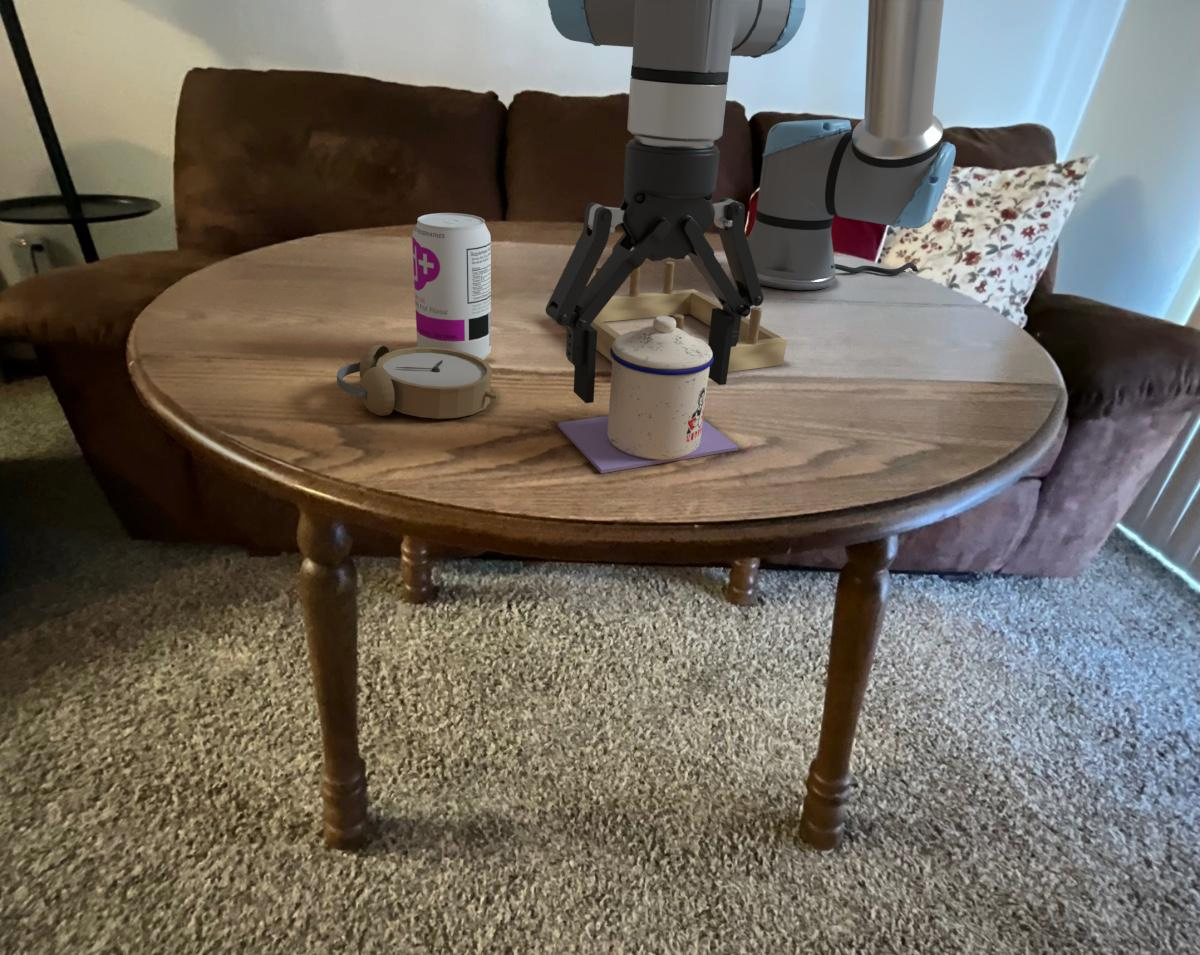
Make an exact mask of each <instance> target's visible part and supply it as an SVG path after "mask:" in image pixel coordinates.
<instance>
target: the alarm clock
mask: <svg viewBox="0 0 1200 955" xmlns="http://www.w3.org/2000/svg"><path fill="white" fill-rule="evenodd" d="M355 373H359V378H360V381H359V385H356V384H353V383H350V382H348V381H347V380H345V379H343V378H344V377H347V376H349V375H352V374H355ZM492 378H493V368H492V366H491V365H490V364H489V363H488V361H486V360H485V359H484V360H482V359H481V358H479V357H477V356H474V355H471V354H469V353H466V352H462V351H457V350H452V349H447V348H436V347H417V346H414V347H412V346H411V347H406V348H398V349H395V350H392V351H390V349H389V348H388V347H387V346H386V345H383V344H378V345H374V346H371V347H369V348H367V350H366V351H365V352H364V353H363V354H362V357H361V359H360V361H358V362H353V363H350V364H346V365H343V366H341V367H340V368H339V369H338V370H337V373H336V384H337V387H338V388H339V389H340V390H341V391H343V392H345V393H347V394H351V395H352V396H353V395H354V396H356V397H359V398H361V401H362V403H363V405H364V407H366V409H367V411H369V412H370V413H372V414H374V415H376V416H381V417H382V416H390V415H391V414H392V413H393V411H396V412H399V413H401V414H405V415H410V416H414V417H419V418H428V419H437V420H438V419H439V420H440V419H458V418H462V417H463V418H464V417H467V416H472V415H475V414H477V413H480V412H481V411H484V410H485V409H486V408H487V407H488V406H489V405H490V402H491V399H492V400H497V399H498V394H496V393H494V392H492V391H491V384H492V383H491V382H492Z"/></svg>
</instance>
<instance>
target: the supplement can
mask: <svg viewBox="0 0 1200 955" xmlns="http://www.w3.org/2000/svg"><path fill="white" fill-rule="evenodd" d="M485 222H486V220H485V219H484V218H482V217H481V216H477V215H474V214H467V213H457V212H439V213H429V214H424V215H421V216H418V217H417V223H416V224H415V226H414V229H413V231H412V234H411V241H412V244H411V245H412V262H413V264H412V265H413V282H414V283H413V284H414V303H415V305H414V307H415V325H416V347H436V348H447V349H452V350H457V351H462V352H466V353H469V354H471V355H474V356H477V357H479V358H481V359H482V360H484V361H485V359H486V358H487V357H488V355H489V354H490V353H492V269H491V268H492V262H491V261H492V256H491V255H492V254H491V252H492V250H491V248H492V244H491V242H492V241H491V240H492V239H491V238H492V237H491V233H490V231H489V229H488V227H487V225H486V223H485Z"/></svg>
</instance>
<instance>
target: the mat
mask: <svg viewBox="0 0 1200 955" xmlns="http://www.w3.org/2000/svg"><path fill="white" fill-rule="evenodd" d="M608 418H609V415H604V416H596V417H590V418H583V419H575V420H568V421H561V422H557V427H558V429H559V430H560V431H561V432H562V433H563V434H564V435H565V436H566V437H567V439H568V440H569V441H570V442H571V443H572V444H573V445H574V446H575V447H576V448H577V449H578V450H579V451H580V452H581V454H582V455H583V456H584V457H585V458H586V459H587V460H588V461H589V462H590V463H591V465H592V466H593V467H594V468H595V469H596V470H597V471H598V472H599V473H600V474H607V473H612V472H619V471H623V470H624V471H625V470H631V469H635V468H642V467H648V466H655V465H659V464H666V463H672V462H679V461H683V460H689V459H694V458H701V457H707V456H712V455H713V456H714V455H719V454H725V453H731V452H736V451H738V450H739V446H738V445H737V444H736V443H734V442H733V441H731V440H730V439H729V438H727V437H726V436H725V435H724V434H723V433H721V432H720V431H719V430H717V429H716V428H715V427H714V426H712V425H711V424H710V423H709V422H707V421H706V420H705V419H703V424H702V432H701V440H700V444H699V446H698V448H697V449H696V450H695V451H693V452H692V453H690V454H688V455H686V456H683V457H679V458H675V459H665V460H657V459H646V458H641V457H637V456H633V455H630V454H627V453H625V452H623V451H621V450H619V449H618V448H616V447H615V446H614V445H613V444H612V443H611V442H610V440H609V438H608Z"/></svg>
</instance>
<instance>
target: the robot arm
mask: <svg viewBox="0 0 1200 955" xmlns="http://www.w3.org/2000/svg"><path fill="white" fill-rule="evenodd" d="M867 1H868V2H867V27H866V28H867V32H866V55H865V56H866V57H865V58H866V59H865V84H864V88H865V89H864V117H863V119H862V120H861V121H860V122H859V123H857V124H856V126H855V127H854V128H853V131H851V130H852V125H851V121H850V120H849V119H840V118H839V119H837V118H836V119H835V118H834V119H833V118H832V119H809V120H807V119H806V120H793V121H783V122H779V123H778V122H777V123H776V124H774V125H772V127H771V128H770V129H769V131H768V133H767V137H766V142H765V148H764V152H763V153H762V165H761V172H760V181H759V188H758V196H757V203H756V211H755V216H754V217H755V218H754V223H753V227H752V229H751V231H750V233H749V234H748V237H747V234H746V230H745V218H746V217H745V213H746V206H745V205H744V204H743V203H742V202H739V201H736V200H734V199H731V198H728V197H724V196H723V197H721V198H720V199H719V200H718V202H715V203H713V194H714V193H715V191H716V188H717V182H718V174H719V164H720V156H721V155H720V154H721V151H720V149H719V147H718V146H717V145H716V144H715V141H718V140H719V139H720V138H722V137H723V134H724V122H725V114H726V103H727V93H728V83H729V75H730V74H729V72H730V64H731V57H747V58H748V57H750V58H752V59H756V58H757V59H759V58H761V57H762V56H764V55H770V54H773V53H777V52H778V51H779V50H781V49H783V48H784V47H785V46H787V45H788V44H789V43H790V42H791V41H792V40H793V39H794V37H795V36H796V34H797V33H798V31H799V29H800V27H801V25H802V23H803V20H804V16H805V12H806V6H807V5H806V4H807V0H547V5H548V6H547V7H548V8H549V11H550V18H551V21H552V23H553V26H554V27H555V29H556V30H557V32H558V33H559V34H560V35H561V36H562V37H564V38H565V39H567V40H568V41H571V42H572V41H573V42H579V43H584V44H591V45H592V46H594V47H600V46H609V47H623V48H632V62H631V65H630V66H631V67H630V79H629V80H630V81H629V92H628V94H629V95H628V96H629V97H628V108H627V109H628V110H627V125H626V126H627V127H626V130H627V131H628V132H629V133H630V134H631V135H634V136H633V138H632V139H629V140H628V142H627V143H626V144H625V152H624V167H623V168H624V169H623V192H624V193H623V194H624V196H623V199H622V202H621V205H620V206H619V207H612V206H604V205H602V204H599V203H597V202H594V201H591V202H590V203H588V204H587V205H586V208H585V213H584V221H583V226H582V227H583V228H582V231H581V233H580V236H579V237H578V239H577V242H576V244H575V246H574V248H573V250H572V252H571V254H570V256H569V259H568V261H567V263H566V265H565V267H564V269H563V271H562V273H561V275H560V277H559V279H558V281H557V283H556V286H555V287H554V290H553V292H552V294H551V296H550V298H549V300H548V301H547V304H546V306H545V313H546V315H547V316H548V317H549V318H550V319H552V320H553V321H554V322H555V323H557V325H559V326H566V344H565V348H566V349H565V356H566V359H567V361H569V363H570V364H572V365H573V366H574V370H573V371H574V372H573V373H574V374H573V393H574V394H575V395H576V396H577V397H578V398H579V399H580V400H582V401H583V402H584V404H591V403H594V401H595V386H596V384H595V382H596V367H597V366H596V365H597V364H596V363H597V349H596V348H597V330H596V329H594V328H593V327H592V326H590V324H591V323H592V322H593V321H594V319H595V318H596V317H597V315H598V314H599V313H600V312H601V310H602V309H603V308H604V307H605V305H606V304H607V303H608V302H609V300H610V299H611V298H612V296H615V295H616V293H617V292H618V290H619V289H620V288H621V287H622V286H623V284H624V283H625V282H626V280H627V279H628V278H629V276H631V272H632V271H633V270H634V269H636V268H638V267H640V266H641V267H642V265H643V264H644V262H645V261H646V260H649V261H651V262H661V261H663V260H667V259H672V260H685V259H686V257H687V256H688V257H689V259H690V260H691V262H692V263H693V264H694V266H695V267H696V270H697V271H698V272H699V274H700V275H701V277H702V278H703V279H704V281H705V283H706V284H707V286H708V287H709V289H710V290H711V292H712V293H713V295H714V297H715V298H716V299H717V302H719V303H720V304H721V305H722V306H723V310H722V309H720V308H713V309H712V316H711V324H710V326H709V333H708V340H707V341H708V342H707V344H708V345H709V347H710V348H711V350H712V355H713V363H712V364H711V366H710V369H709V376H708V379H710V380H711V381H713V382H714V383H715V384H717V385H718V386H723V385H726V384H727V382H728V373H729V372H728V367H729V359H730V352H731V347H735V346H736V345H737V342H738V338H739V330H740V324H741V317H743V318H745V317H746V318H748V317H749V316H750V313H751V308H752V307H760V306H761V305H762V304H763V303H764V299H765V298H764V293H763V290H762V287H761V286H764V287H769V288H773V289H782V290H788V291H789V290H791V291H813V290H814V291H815V290H822V289H826V288H830V287H831V286H832V285H833V284H834V283H835V278H836V270H838V271H842V272H844V273H845V272H846V273H850V274H859V273H861V272H873V273H878V274H881V275H882V274H883V275H898V274H901V273H903V272H904V271H906V270H908V269H911V271H912V272H914V273H919V268H918V267H917V265H916V264H915V263H914V262H906V263H904V264H903V265H902V266H900V267H897V268H884V267H880V266H874V265H859V266H857V267H851V266H847V265H843V264H838V263H835V256H834V246H833V238H832V228H833V221H834V217H839V218H844V219H850V220H856V221H860V222H861V221H862V222H868V223H872V224H873V223H874V224H880V225H885V226H892V228H894V229H896V228H897V227H898V228H905V229H914V230H915V229H919V228H922V227H924V226H925V225H927V224H928V223H929V221H931V219H932V217H933V215H934V213H936V210H937V208H938V206H939V205H940V202H941V200H942V197H943V195H944V193H945V189H946V187H947V185H948V182H949V179H950V176H951V173H952V170H953V167H954V163H955V159H956V153H957V151H956V146H955V144H953V143H950V142H949V141H943V137H944V136H943V134H944V126H943V123H942V121H941V120H940V118H938V117H937V116H936V115H935V114H934V102H935V93H936V83H937V75H938V64H939V54H940V43H941V33H942V25H943V15H944V5H945V0H867ZM712 223H713V224H714V225H715V226H716V227H717V231H718V235H719V238H720V242H721V245H722V248H723V251H724V254H725V258H726V260H727V264H728V267H729V270H730V274H731V278H732V280H733V282H732V281H731V279H730V277H729V276H728V274H727V273H726V271H725V270H724V268H723V267H722V265H721V263H720V262H719V260H718V258H717V257H716V256H715V250H714V249H713V247H712V246H711V244H710V242H709V241H708V239H707V238H706V237H705V234H706V232H707V231H708V230H709V228H710V226H711V225H712ZM618 225H620V227H621V229H622V231H623V233H622V235H621V236H620V238H619V239H618V240H617V241H616V243H615V244H614V245H613V246H612V248H611V249H612V250H611V251H612V252H611V254H610V255H609V256H608V258H607V259H606V260H605V261H604V263H603V264H602V265H601V266H602V267H601V268H600V269H599V270H598V272H597V273H596V272H595V274H594V276H593V277H592V275H593V273H594V271H595V270H596V267H597V266H598V263H599V261H600V259H601V256H602V255H603V253H604V251H605V248H606V247H607V244H608V241H609V237H610V236H611V235H612V234H614V233H615V232H616V228H617V226H618ZM591 277H592V278H591Z"/></svg>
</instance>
